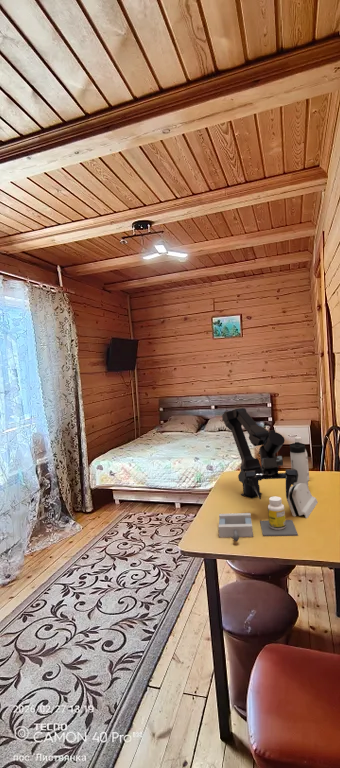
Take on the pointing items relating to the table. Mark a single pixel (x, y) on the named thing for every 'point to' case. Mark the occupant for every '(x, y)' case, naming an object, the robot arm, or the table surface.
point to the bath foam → (299, 439)
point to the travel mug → (299, 461)
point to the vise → (235, 525)
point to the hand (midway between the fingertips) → (273, 498)
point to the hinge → (301, 500)
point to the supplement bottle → (276, 513)
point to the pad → (287, 531)
